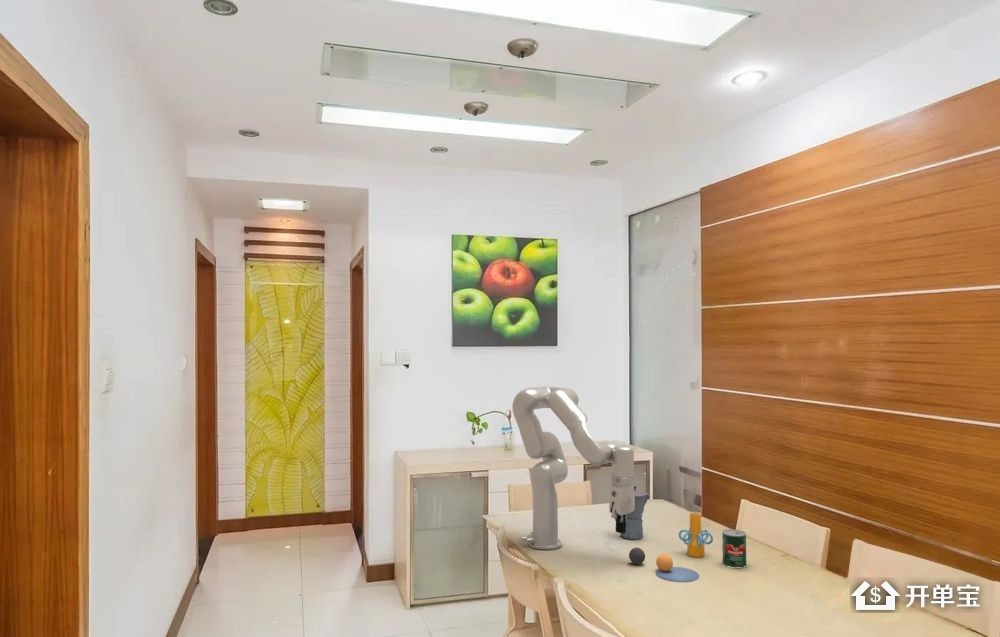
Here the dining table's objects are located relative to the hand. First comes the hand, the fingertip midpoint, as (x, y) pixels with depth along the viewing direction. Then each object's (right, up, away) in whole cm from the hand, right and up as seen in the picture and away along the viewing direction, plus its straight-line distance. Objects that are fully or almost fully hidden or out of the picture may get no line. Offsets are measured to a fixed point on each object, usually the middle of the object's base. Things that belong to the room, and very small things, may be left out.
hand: (620, 532), depth 239 cm
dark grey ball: (+5, -7, -5) cm, 10 cm away
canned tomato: (+38, -10, -6) cm, 40 cm away
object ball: (+13, -7, -12) cm, 19 cm away
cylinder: (+28, -10, +5) cm, 30 cm away
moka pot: (+9, -11, +27) cm, 31 cm away
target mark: (+16, -9, -15) cm, 24 cm away
